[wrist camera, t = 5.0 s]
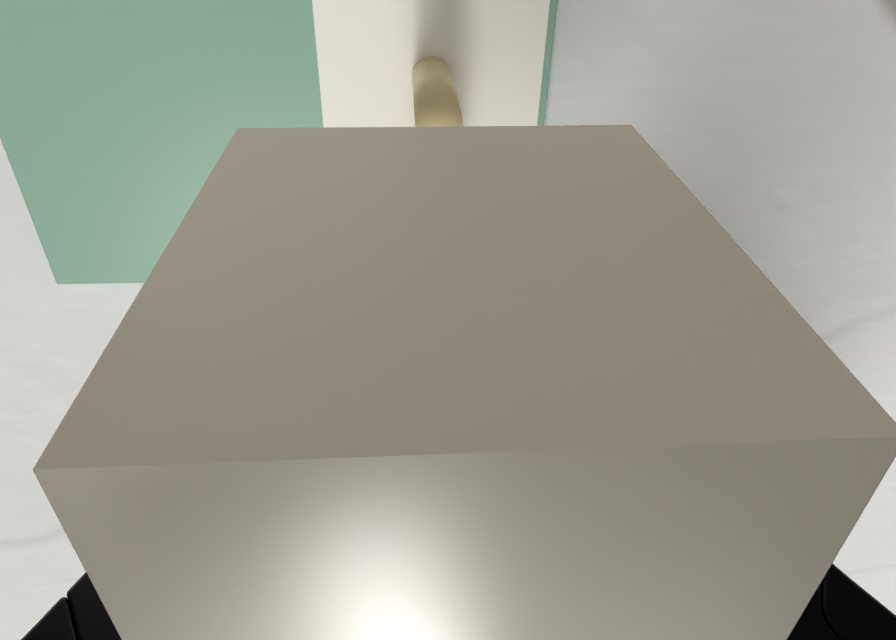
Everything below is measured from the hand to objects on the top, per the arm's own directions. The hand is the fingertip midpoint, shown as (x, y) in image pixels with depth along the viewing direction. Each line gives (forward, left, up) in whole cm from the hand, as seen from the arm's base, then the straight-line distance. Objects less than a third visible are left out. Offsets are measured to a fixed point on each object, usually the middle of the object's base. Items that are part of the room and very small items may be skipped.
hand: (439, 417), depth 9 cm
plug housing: (0, 0, -1) cm, 1 cm away
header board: (+4, 0, -11) cm, 12 cm away
